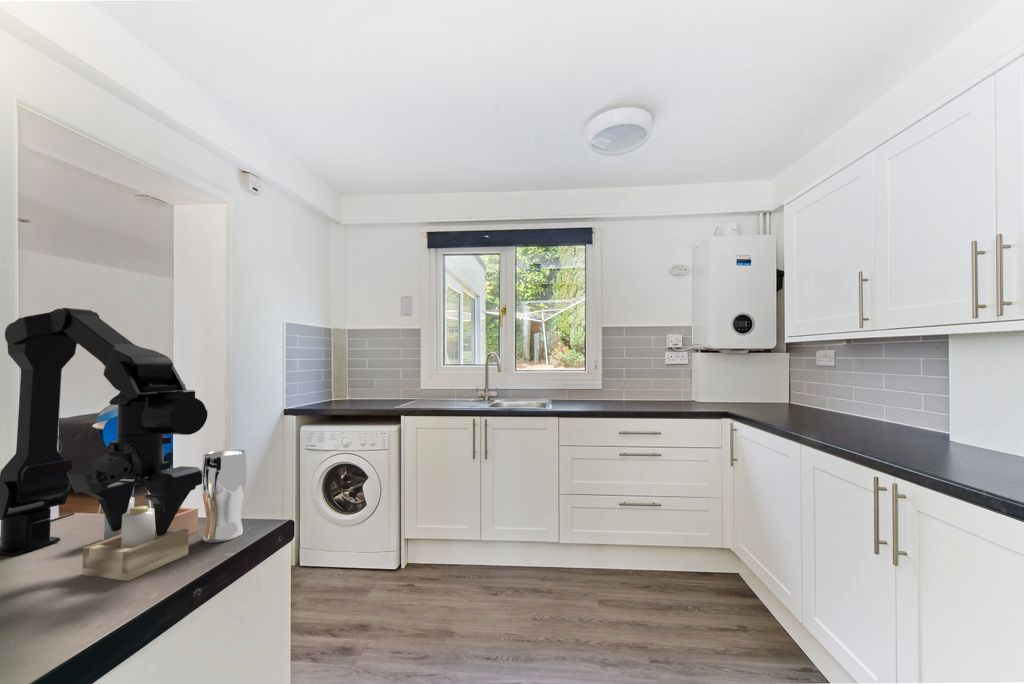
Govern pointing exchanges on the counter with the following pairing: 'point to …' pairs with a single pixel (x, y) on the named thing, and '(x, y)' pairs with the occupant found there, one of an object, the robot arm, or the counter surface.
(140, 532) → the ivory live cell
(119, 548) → the frame
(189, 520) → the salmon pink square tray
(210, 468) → the beer glass
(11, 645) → the counter surface
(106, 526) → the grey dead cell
